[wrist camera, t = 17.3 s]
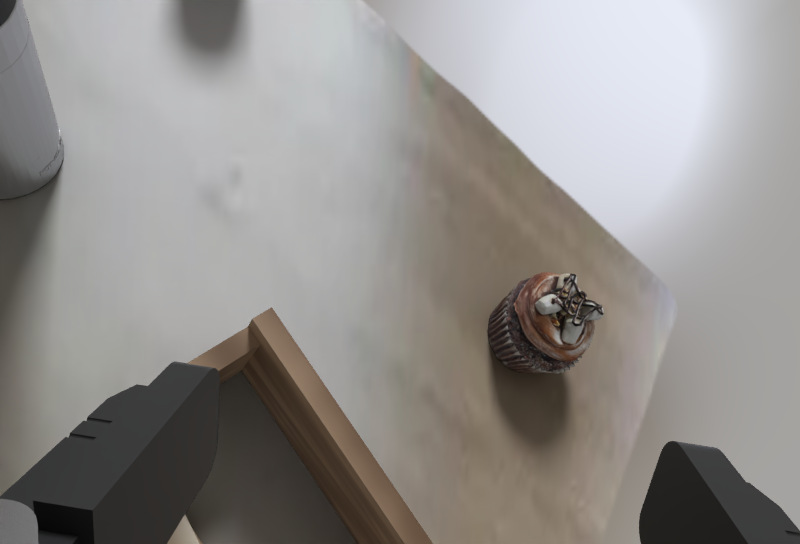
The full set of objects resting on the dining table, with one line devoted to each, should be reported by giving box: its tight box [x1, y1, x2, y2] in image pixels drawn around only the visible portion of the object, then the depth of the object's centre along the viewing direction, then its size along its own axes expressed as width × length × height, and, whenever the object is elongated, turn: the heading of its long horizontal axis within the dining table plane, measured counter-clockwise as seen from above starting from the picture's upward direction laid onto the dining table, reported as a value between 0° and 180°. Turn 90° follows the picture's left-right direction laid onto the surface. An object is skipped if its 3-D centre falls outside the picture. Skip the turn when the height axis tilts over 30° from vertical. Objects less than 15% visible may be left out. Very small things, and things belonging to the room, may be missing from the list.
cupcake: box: [488, 272, 604, 373], centre depth 53 cm, size 10×10×10 cm
